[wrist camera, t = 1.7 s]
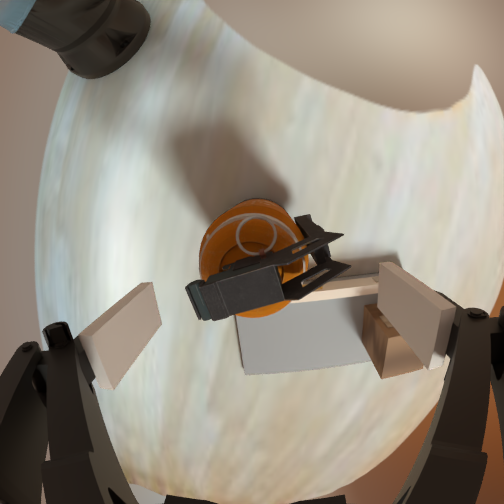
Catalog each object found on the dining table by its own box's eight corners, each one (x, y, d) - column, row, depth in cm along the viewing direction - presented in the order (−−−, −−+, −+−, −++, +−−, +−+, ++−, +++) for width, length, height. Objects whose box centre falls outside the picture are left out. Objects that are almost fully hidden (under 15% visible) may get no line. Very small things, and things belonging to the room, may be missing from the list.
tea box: (364, 304, 35) (388, 337, 26) (401, 298, 34) (432, 327, 26) (361, 341, 36) (381, 379, 28) (397, 335, 36) (422, 368, 27)
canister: (213, 211, 34) (147, 245, 15) (297, 183, 33) (339, 181, 14) (236, 276, 36) (204, 372, 17) (317, 251, 35) (371, 327, 15)
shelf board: (233, 285, 36) (229, 297, 33) (403, 268, 35) (416, 277, 31) (245, 370, 40) (243, 386, 36) (393, 351, 38) (403, 365, 34)
